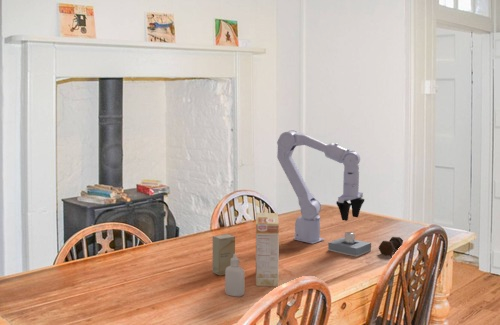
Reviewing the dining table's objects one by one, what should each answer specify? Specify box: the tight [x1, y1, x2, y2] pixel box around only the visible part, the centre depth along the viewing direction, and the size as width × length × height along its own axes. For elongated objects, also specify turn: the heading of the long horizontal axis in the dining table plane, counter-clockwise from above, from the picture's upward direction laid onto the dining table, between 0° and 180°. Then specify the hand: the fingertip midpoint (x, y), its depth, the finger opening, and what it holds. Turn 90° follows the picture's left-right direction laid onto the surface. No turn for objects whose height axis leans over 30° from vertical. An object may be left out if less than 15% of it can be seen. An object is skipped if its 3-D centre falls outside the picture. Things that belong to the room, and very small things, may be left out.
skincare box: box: [212, 233, 236, 276], centre depth 186 cm, size 6×4×12 cm
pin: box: [344, 231, 356, 245], centre depth 211 cm, size 4×4×6 cm
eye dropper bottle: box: [224, 253, 245, 298], centre depth 166 cm, size 4×6×12 cm
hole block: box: [327, 236, 372, 258], centre depth 211 cm, size 12×10×3 cm
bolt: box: [378, 236, 404, 257], centre depth 212 cm, size 6×5×15 cm
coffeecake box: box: [255, 212, 280, 287], centre depth 180 cm, size 15×7×20 cm, turn 178°
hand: (350, 218), depth 220 cm, fingers open, 7 cm apart
